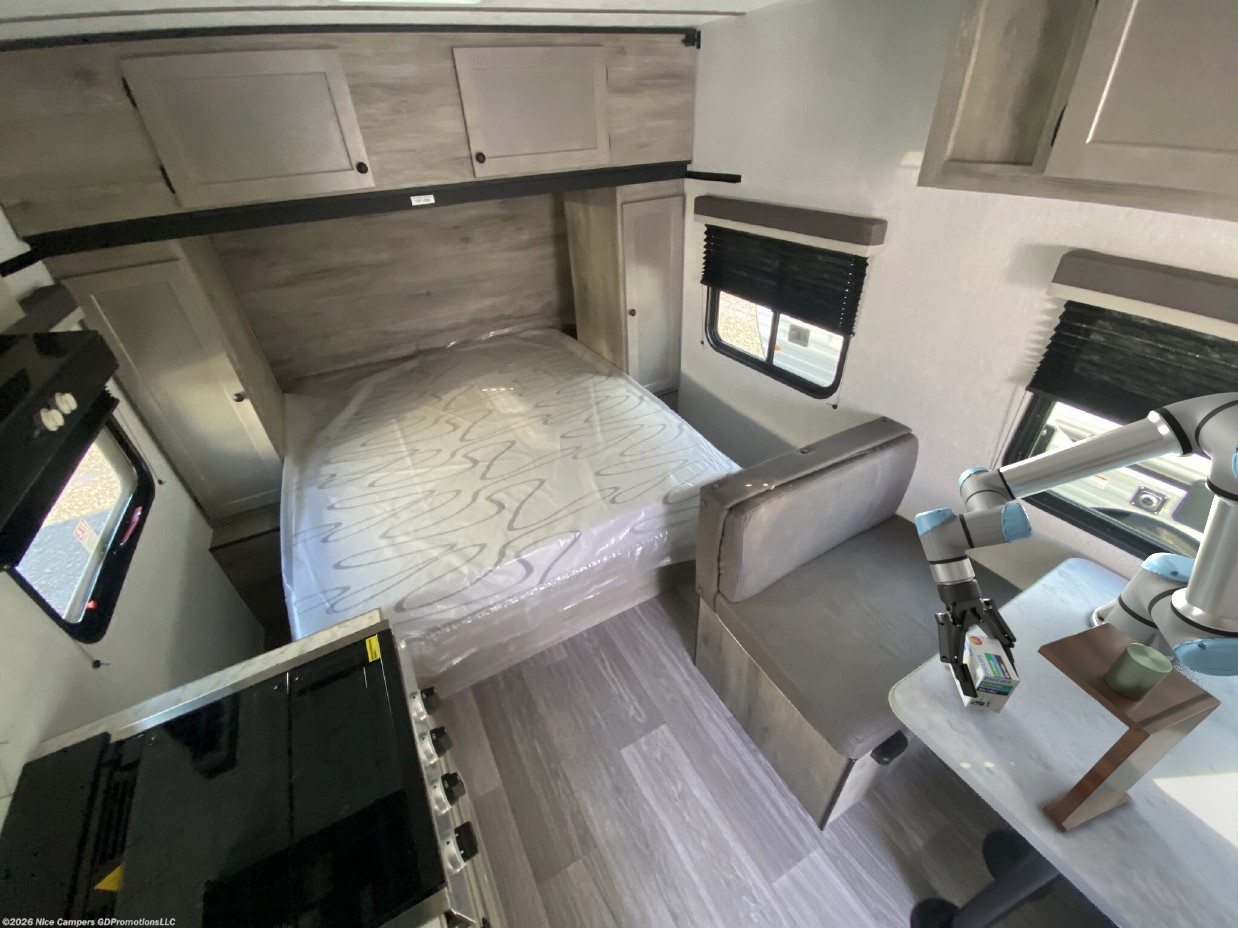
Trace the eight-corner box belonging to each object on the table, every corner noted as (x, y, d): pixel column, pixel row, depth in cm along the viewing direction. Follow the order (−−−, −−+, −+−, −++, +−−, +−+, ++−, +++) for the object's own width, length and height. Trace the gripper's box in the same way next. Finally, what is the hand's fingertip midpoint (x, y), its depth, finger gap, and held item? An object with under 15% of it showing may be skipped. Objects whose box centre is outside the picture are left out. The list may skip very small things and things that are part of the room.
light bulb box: (1000, 714, 104) (1022, 682, 98) (964, 708, 105) (984, 676, 100) (980, 669, 113) (999, 637, 107) (947, 664, 114) (964, 632, 108)
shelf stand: (1036, 715, 105) (1129, 593, 86) (1128, 801, 91) (1263, 679, 72) (977, 739, 101) (1060, 617, 82) (1064, 833, 87) (1188, 713, 68)
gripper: (980, 569, 115) (1016, 669, 111) (898, 593, 109) (933, 700, 105) (1012, 568, 108) (1051, 675, 104) (926, 593, 102) (964, 708, 98)
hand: (992, 688), depth 105 cm, fingers closed on light bulb box, 10 cm apart
